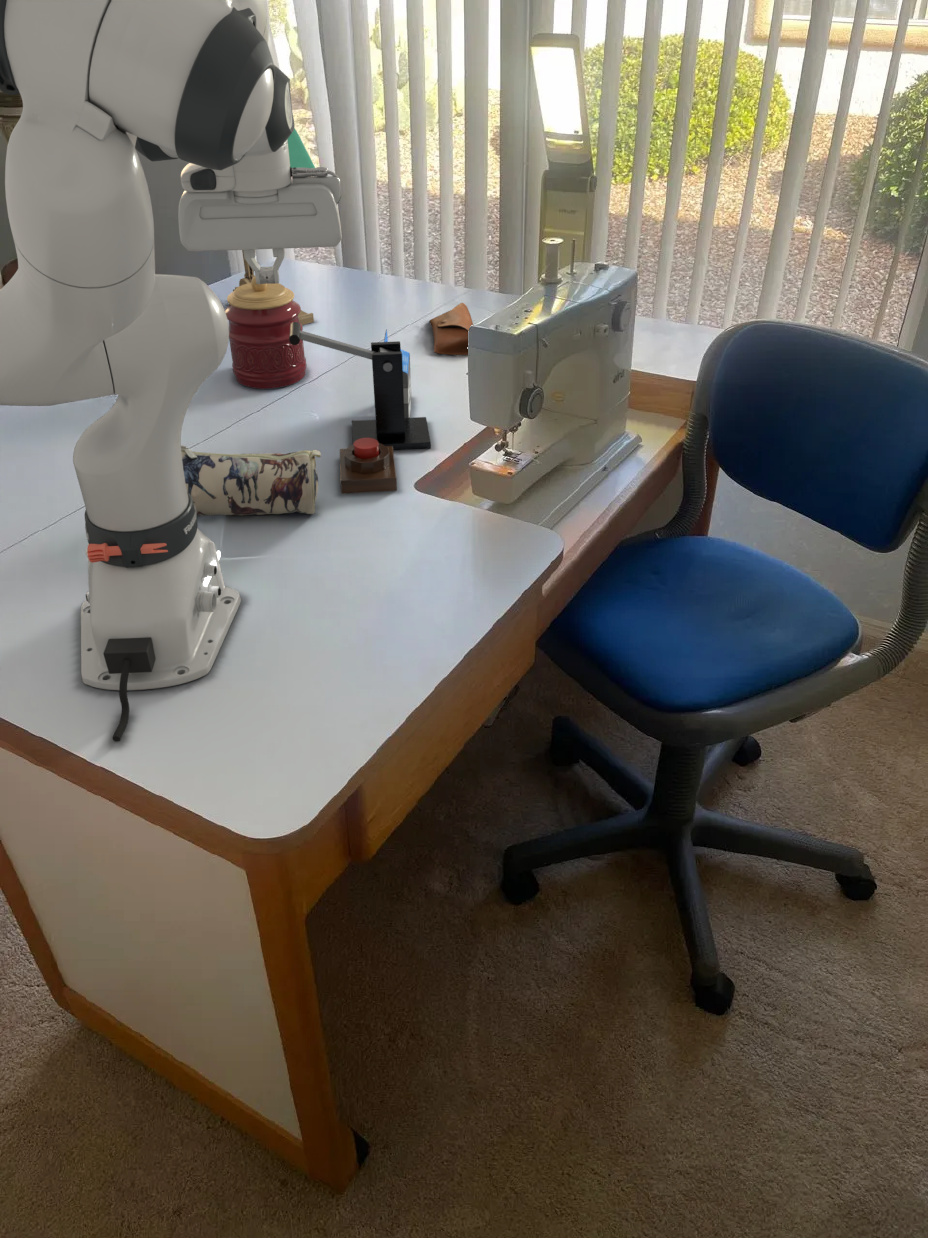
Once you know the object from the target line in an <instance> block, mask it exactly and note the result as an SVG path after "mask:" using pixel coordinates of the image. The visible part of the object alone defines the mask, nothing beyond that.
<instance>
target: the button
mask: <svg viewBox="0 0 928 1238" xmlns="http://www.w3.org/2000/svg"><path fill="white" fill-rule="evenodd" d="M354 455H355V457H357V458H361V459H370V458H374V457H377V456H378V455H379V444H378V441H377V440H376V439H373V438H361V439H358V440H356V441H355V442H354Z"/></svg>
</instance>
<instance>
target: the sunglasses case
mask: <svg viewBox="0 0 928 1238" xmlns="http://www.w3.org/2000/svg"><path fill="white" fill-rule="evenodd" d="M428 322H429V324H430V326H431V330H432V336H433V353H435V354H437V355H443V356H469V355H468V349H467V347H468V331H469V328H470V326H471V325H473V326H474V322H473V318H472V315H471V313H470V311H469V308H468V306H467V305H466V304H465V302H460V303H459V304H457V305H456V306H454V307H453V308H452V309H450V310H447V311H446V312H444V313H442V314H440V315H437V316H434V317H433V318H431V319H429V321H428Z"/></svg>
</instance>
